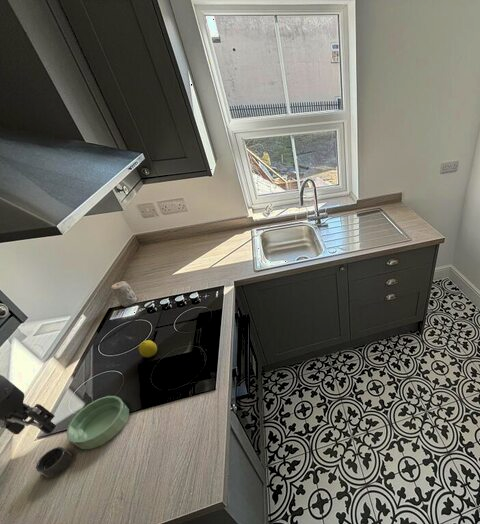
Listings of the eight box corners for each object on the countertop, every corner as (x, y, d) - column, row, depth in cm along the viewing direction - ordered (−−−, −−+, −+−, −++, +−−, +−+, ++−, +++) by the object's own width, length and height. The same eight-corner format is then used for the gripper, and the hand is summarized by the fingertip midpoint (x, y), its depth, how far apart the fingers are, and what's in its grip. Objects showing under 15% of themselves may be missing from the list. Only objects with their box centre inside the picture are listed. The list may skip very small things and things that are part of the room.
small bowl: (44, 483, 80) (33, 476, 78) (49, 461, 85) (39, 454, 82) (71, 470, 83) (61, 463, 80) (75, 449, 87) (66, 442, 85)
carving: (120, 310, 138) (106, 290, 131) (126, 299, 144) (114, 280, 138) (134, 307, 139) (122, 288, 132) (140, 297, 145) (128, 278, 138)
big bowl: (72, 460, 85) (62, 452, 82) (80, 418, 95) (71, 410, 92) (129, 433, 90) (121, 425, 88) (130, 396, 101) (123, 388, 98)
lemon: (161, 348, 118) (153, 334, 113) (158, 359, 113) (149, 345, 109) (146, 352, 116) (137, 338, 112) (143, 363, 112) (133, 349, 108)
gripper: (-58, 412, 65) (-4, 446, 74) (3, 411, 64) (50, 445, 73) (-22, 381, 71) (23, 416, 80) (34, 380, 70) (73, 415, 80)
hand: (36, 430), depth 77 cm, fingers open, 8 cm apart
